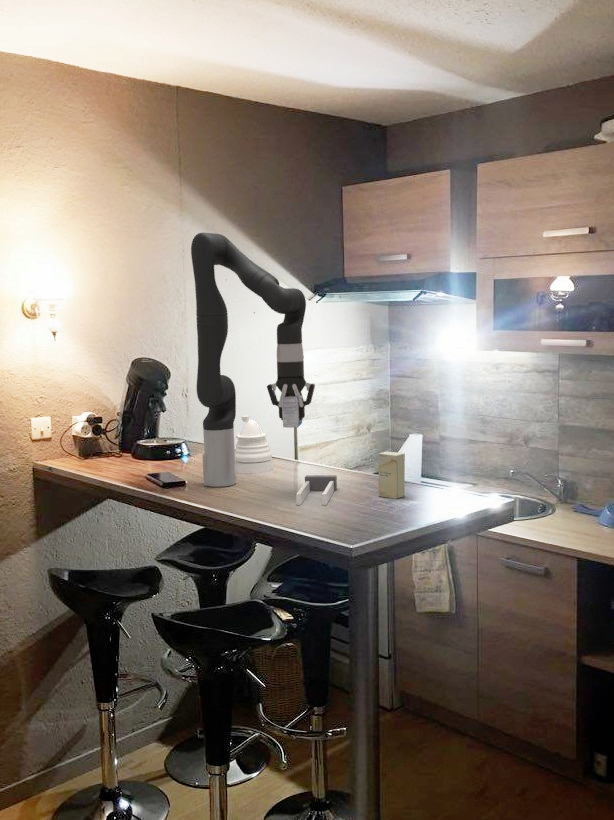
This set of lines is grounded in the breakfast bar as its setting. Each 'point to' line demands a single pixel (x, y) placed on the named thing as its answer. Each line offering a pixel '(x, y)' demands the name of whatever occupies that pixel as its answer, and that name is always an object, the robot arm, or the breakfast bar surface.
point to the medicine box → (290, 412)
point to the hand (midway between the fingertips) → (292, 419)
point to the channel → (318, 487)
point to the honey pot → (252, 449)
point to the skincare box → (391, 474)
